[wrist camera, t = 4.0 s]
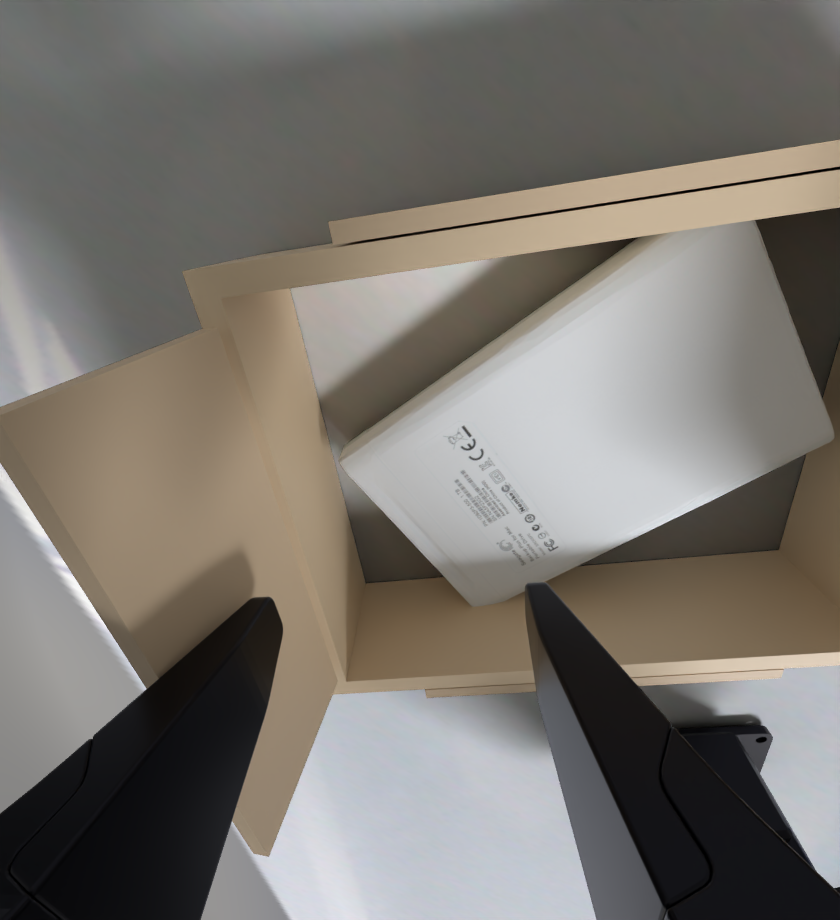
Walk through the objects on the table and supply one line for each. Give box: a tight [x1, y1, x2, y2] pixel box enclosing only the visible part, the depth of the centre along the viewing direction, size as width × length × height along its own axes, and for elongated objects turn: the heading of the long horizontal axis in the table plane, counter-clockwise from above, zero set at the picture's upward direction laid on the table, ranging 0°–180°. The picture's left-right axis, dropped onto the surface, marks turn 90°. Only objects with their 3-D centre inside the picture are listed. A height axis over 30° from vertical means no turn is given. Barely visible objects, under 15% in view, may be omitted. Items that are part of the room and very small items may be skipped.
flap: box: [0, 328, 338, 857], centre depth 10 cm, size 4×11×1 cm
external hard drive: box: [339, 220, 835, 607], centre depth 14 cm, size 2×8×12 cm
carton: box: [182, 140, 840, 698], centre depth 13 cm, size 14×17×4 cm
